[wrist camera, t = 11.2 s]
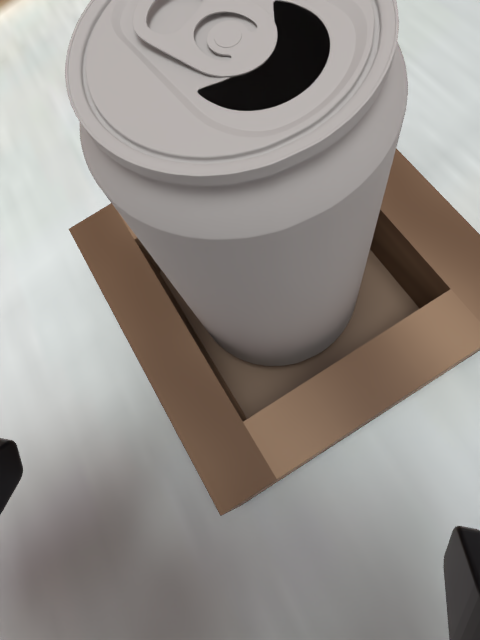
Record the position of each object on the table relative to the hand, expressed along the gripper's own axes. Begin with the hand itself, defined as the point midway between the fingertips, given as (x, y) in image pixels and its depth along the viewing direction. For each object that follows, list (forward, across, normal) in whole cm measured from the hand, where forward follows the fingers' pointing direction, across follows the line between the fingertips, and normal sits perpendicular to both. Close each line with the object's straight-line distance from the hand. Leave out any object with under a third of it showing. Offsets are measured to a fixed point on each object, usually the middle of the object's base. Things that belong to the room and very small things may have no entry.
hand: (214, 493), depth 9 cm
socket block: (+12, 0, +1) cm, 12 cm away
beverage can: (+11, 0, 0) cm, 11 cm away
